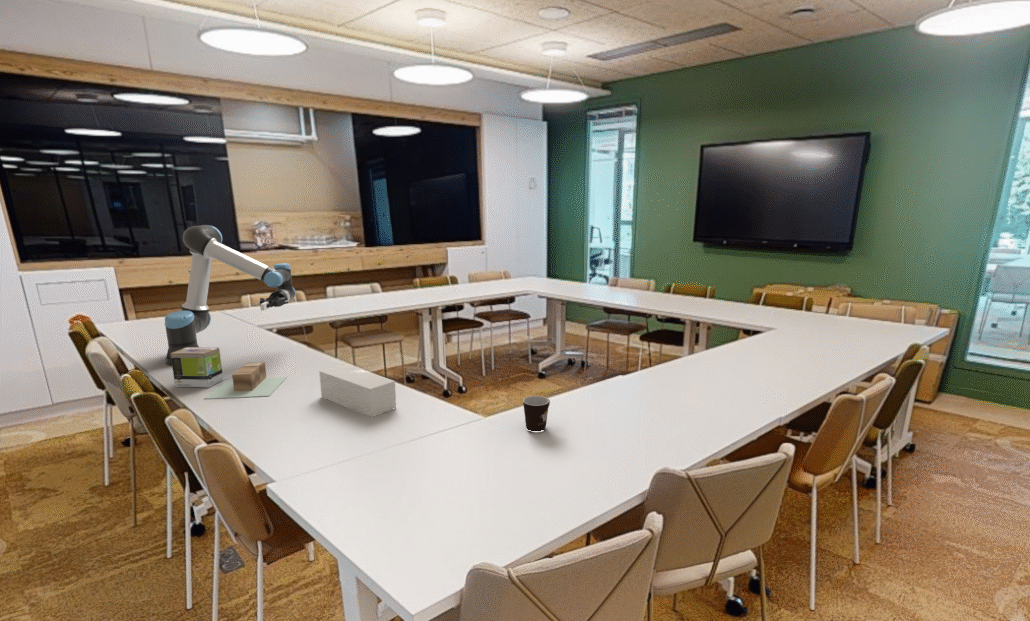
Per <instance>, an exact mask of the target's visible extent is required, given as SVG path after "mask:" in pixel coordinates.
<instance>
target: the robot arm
mask: <svg viewBox="0 0 1030 621" xmlns="http://www.w3.org/2000/svg"><path fill="white" fill-rule="evenodd" d="M182 242H183V244H184V245H185V247H186V248H188V249H189V250H188V251H189V253H190V254H191V256H192V257H191V263H190V269H189V270H190V272H189V279H188V285H187V286H188V287H187V292H186V293H187V294H186V301H185V302H184V303H183V304H181V309H180V310H176V311H174V312H170V313H167V314H166V315H165V316H164V326H165V333H166V338H167V345H168V346H167V347H168V349H167V353H166V356H165V357H166V358H165V364H166V365H168V366H172V361H171V354H170V353H173V352H175V351H178V350H181V349H184V348H186V347H200V345H199V344H198V339H197V334H198V333H200V332H202V331H204V330H206V329H207V328H208V326H209V325H210V323H211V321H212V315H211V314H210V307H209V306H208V304H207V302H208V294H209V288H210V280H211V272H212V266H213V259H215V260H217V261H219V262H221V263H224V264H225V265H227V266H230V267H232V268H234V269H236V270H239V271H241V272H242V273H245V274H246V275H249V276H251V277H253V278H255V279H258V280H259V281H262V282H264V283H265V285H266V286H267V287H268V288H269V287H270V288H276V290H274V291H272V292H271V293H270V295H269V297H266V298H263V297H259V308H260V311H266V310H267V309H270V308H273V307H274V308H279V307H282V306H284V305H287V304H289V302H291V301H292V300H294V298H295V297H296V294H297V293H296V289H295V288H294V286H293V279H292V278H293V277H292V268H291V264H290V263H287V262H283V263H282V262H281V263H275V264H274V265H273V267H270V266H269V265H266V264H264V263H262V262H261V261H258V260H256V259H254V258H252V257H250V256H248V255H246V254H244V253H243V252H242V253H241V252H240V251H238V250H235V248H234V249H233V248H231V247H229V246H227V245H226V244H223V235H222V233H221V231H220V230H219V229H218V228H217V227H215V226H213V225H209V224H202V225H194V226H190V227H188V228H186V229H185V230H184V232H183V234H182Z"/></svg>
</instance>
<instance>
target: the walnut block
mask: <svg viewBox="0 0 1030 621" xmlns="http://www.w3.org/2000/svg"><path fill="white" fill-rule="evenodd" d="M265 378H267V370H266V362H265V361H257V362H256V361H254V362H246V363H245V364H244V365H243V366H241V367H240V368H239V369H238V370H236V371H234V373H232V379H233V385H234V391H253V390H254V389H255V388H256V387H257V386H258V385H259V384H260V383H261V382H262V381H263V380H264V379H265Z"/></svg>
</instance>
